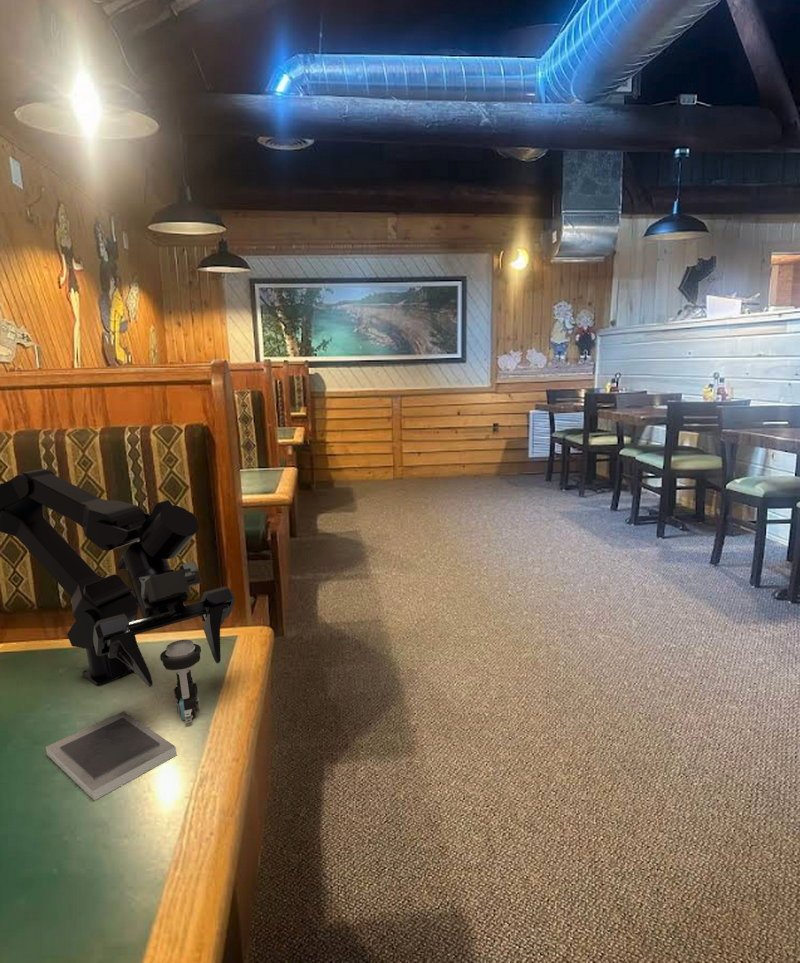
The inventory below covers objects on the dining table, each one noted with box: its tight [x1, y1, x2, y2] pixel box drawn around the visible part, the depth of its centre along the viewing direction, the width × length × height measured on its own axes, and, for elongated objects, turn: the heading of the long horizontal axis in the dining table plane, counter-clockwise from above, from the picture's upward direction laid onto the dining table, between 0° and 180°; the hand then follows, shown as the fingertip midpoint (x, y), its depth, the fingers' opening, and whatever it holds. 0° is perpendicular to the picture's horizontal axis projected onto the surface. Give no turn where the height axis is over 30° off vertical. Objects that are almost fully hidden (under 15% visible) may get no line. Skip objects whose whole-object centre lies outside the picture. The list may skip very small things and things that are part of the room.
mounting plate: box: [45, 710, 177, 801], centre depth 76 cm, size 14×10×1 cm
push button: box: [159, 639, 202, 724], centre depth 83 cm, size 7×5×10 cm
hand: (186, 673), depth 82 cm, fingers open, 9 cm apart
